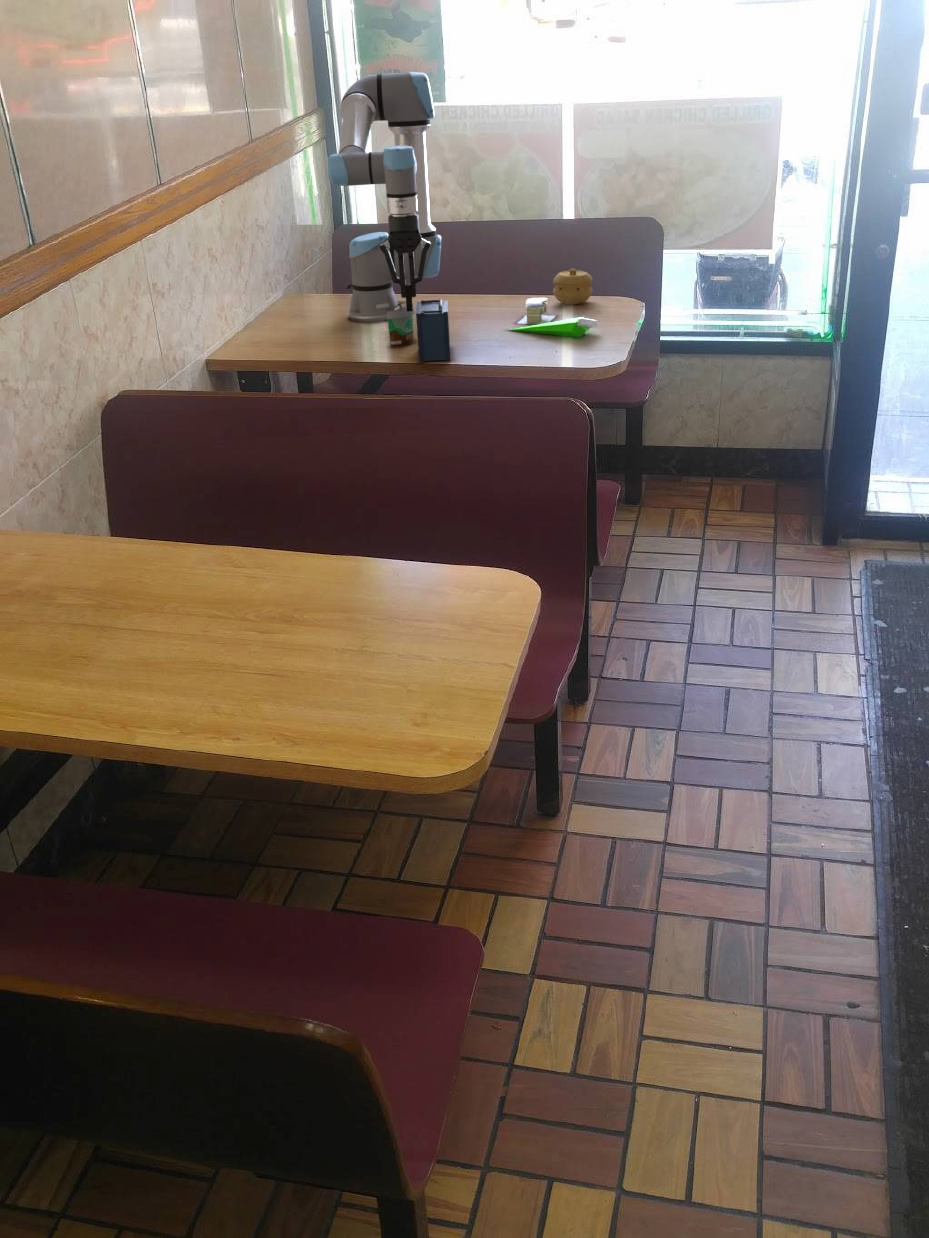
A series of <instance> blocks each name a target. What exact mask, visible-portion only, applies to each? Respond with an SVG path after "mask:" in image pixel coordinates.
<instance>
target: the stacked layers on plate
mask: <svg viewBox="0 0 929 1238" xmlns="http://www.w3.org/2000/svg"><path fill="white" fill-rule="evenodd" d="M548 300H549V298H547V297H530V298H527V299H526V300H525V301H524V303H525V304H526V305H525V307H524V309H526V313H525V315H524V316H523V317H522V318H521V319H519V321H517V322H516V324H518V325H519V324H520V325H521V324H522V325H526V324H527V325H539V324H545V323H551V321H552V320H554V319H555V318H556V317H557V315H546V314H548V313H549V309H548V305H549V302H547V301H548Z"/></svg>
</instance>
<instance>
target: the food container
mask: <svg viewBox="0 0 929 1238" xmlns="http://www.w3.org/2000/svg"><path fill="white" fill-rule="evenodd" d="M397 301H398V305H397V306H396V307H393V308H392V310H391V311H387V319H388V321H387V325H388V333H389V334H388V335H389V344H390V348H401V347H406V346H409V345H411V344H413V343H414V315H416V308H415V305H413V311H408V312H407V307H406V300H397Z"/></svg>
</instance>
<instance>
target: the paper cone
mask: <svg viewBox="0 0 929 1238" xmlns="http://www.w3.org/2000/svg"><path fill="white" fill-rule="evenodd" d="M598 323H599V322H598V320H596V319H591V318H587V317H586V316H580V317H574V318H568V319H563V320H556V321H552V322H551V321H550V322H549V323H545V324H532V325H529V326H523V327H516V328H510V329H509V331H514V332H522V333H523V332H524V333H533V334H542V335H551V336H560V337H570V338H579V339H580V338H581V337H582V336H583V335H584V334H586V333H587V332H588V331H589V330H590V329H596V328H597V327H599V324H598Z"/></svg>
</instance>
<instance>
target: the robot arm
mask: <svg viewBox="0 0 929 1238" xmlns="http://www.w3.org/2000/svg"><path fill="white" fill-rule="evenodd" d="M339 111H340V112H339V113H340V117H341V119H342V123H341V131H340V137H339V138H340V139H339V147H338V152H337V153H333V154H330V155H329V156H328V158H327V159H328V160H327V167H328V168H327V170H328V177H329V181H330V184H331V185H332V186H334V187H349V186H351V187H352V186H353V187H354V186H367V185H385V191H386V194H385V195H386V209H387V214H388V217H387V222H388V232H386V231H377V232H371V233H366V234H363V235H360V236H356V237H355V238H353V239H351V240H350V242H349V245H348V247H349V256H348V258H349V261H350V271H351V283H350V284H348V285H347V287H346V288H347V289H350V288H352V295H351V300H350V306H349V311H348V315H349V319H350V320H351V321H354V322H358V323H380V322H388V319H387V311H391V310H392V308H393V307H396V306H397V305H398V301H399V300H398V298H397V296H396V293H395V291H394V287H393V284H398V285H399V286H400V296H401V298H402V299H405V301H406V307H407V312H408V311H413V306H414V302H413V298H416V297H417V287H416V286H417V284H418V283H421V282H422V281H423V280H424V279H428V278H435V277H437V276H438V275H439V273H440V268H441V267H440V266H441V265H440V264H441V254H442V253H441V252H442V235H440V234H437V228H436V227H435V226H434V225H433V224H432V223H431V211H430V193H429V176H428V162H427V161H428V159H427V157H428V156H427V143H426V131H427V130H428V129H429V127H431V120H432V119H434V118H435V117H436V114H435V113H436V112H435V107H434V100H433V95H432V90H431V85H430V80H429V77H428V75H427V74H426V73H425V72H420V71H419V72H418V71H408V72H394V73H373V74H367V75H366V76H363V77H361V78H359V79H358V80H356V81H355V82H354V83H353V84H352V85H351V86H350V87H349V88H348V89H347V90H346V92H345V93H344V95H343V97H342V99H341V102H340V109H339ZM379 121H380V122H383V121H384V122H385V121H386V122H387V128H388V129H389V131H391V132H392V134H393V139H394V145H393V146H386V147H385V148H384V149H383V151H373V152H372V151H371V152H370V142H371V141H370V140H371V130H372V129H371V128H372V124H373V123H374V122H379ZM406 280H409V282H407V283H406Z"/></svg>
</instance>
